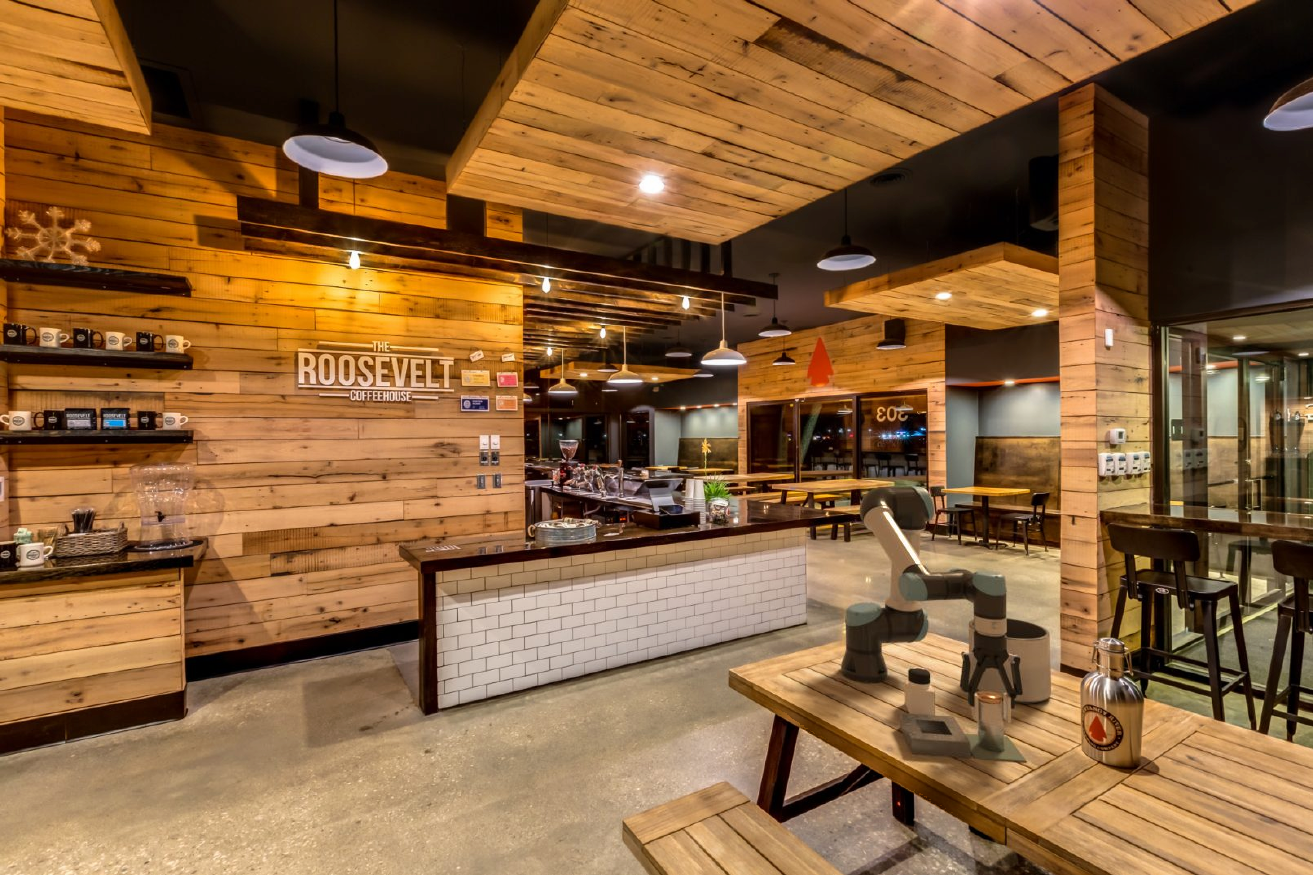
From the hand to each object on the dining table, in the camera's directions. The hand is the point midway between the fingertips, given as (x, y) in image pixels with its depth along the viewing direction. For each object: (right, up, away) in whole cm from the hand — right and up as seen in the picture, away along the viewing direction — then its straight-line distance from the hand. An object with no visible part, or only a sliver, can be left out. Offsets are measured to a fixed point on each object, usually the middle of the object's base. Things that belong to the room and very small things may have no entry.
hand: (991, 719), depth 157 cm
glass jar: (0, -7, 0) cm, 7 cm away
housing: (-13, -8, +4) cm, 16 cm away
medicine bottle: (-9, -8, +22) cm, 25 cm away
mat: (0, -8, 0) cm, 8 cm away
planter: (+25, -7, +34) cm, 43 cm away
